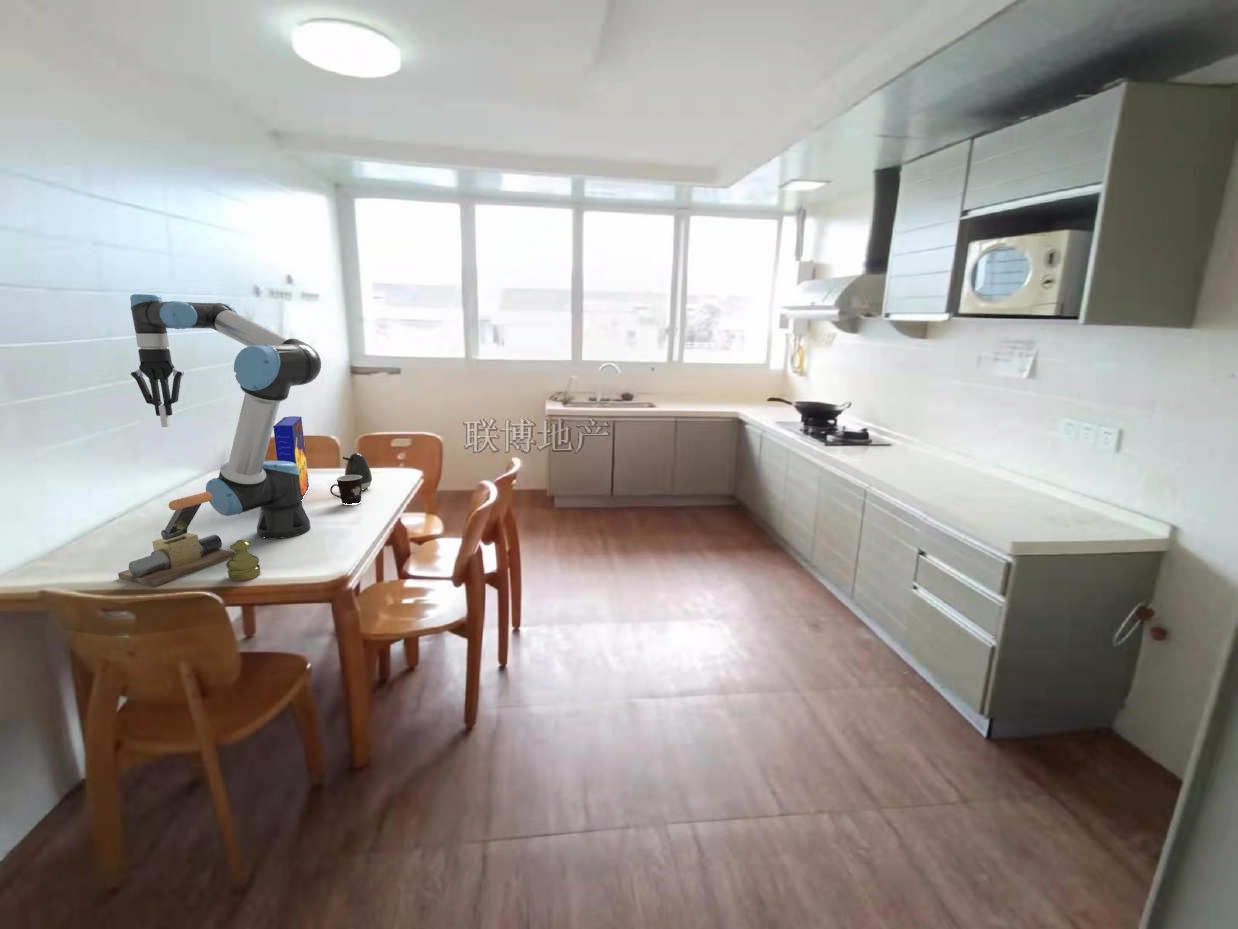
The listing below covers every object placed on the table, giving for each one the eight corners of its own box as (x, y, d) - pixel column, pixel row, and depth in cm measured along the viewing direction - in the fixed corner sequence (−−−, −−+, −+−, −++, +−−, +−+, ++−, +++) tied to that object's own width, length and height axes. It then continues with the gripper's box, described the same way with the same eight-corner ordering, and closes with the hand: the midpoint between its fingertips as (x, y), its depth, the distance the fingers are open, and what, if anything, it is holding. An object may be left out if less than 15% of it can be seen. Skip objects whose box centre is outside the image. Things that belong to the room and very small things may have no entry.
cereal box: (300, 504, 222) (291, 424, 216) (282, 506, 220) (273, 425, 214) (309, 489, 242) (301, 415, 236) (292, 490, 240) (284, 416, 234)
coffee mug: (361, 498, 231) (359, 473, 228) (366, 504, 224) (364, 478, 221) (328, 503, 225) (326, 477, 222) (332, 509, 218) (329, 482, 215)
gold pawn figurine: (266, 570, 164) (262, 536, 162) (251, 582, 157) (246, 546, 155) (238, 570, 164) (234, 536, 162) (222, 582, 157) (217, 545, 154)
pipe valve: (119, 578, 158) (113, 548, 156) (201, 549, 178) (196, 522, 176) (155, 587, 153) (149, 555, 151) (235, 556, 173) (231, 528, 171)
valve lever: (146, 538, 158) (168, 499, 152) (185, 526, 168) (207, 489, 161) (153, 546, 158) (174, 507, 152) (192, 533, 168) (214, 496, 161)
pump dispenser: (341, 489, 244) (338, 452, 240) (367, 484, 250) (364, 449, 247) (350, 494, 236) (346, 456, 233) (376, 490, 243) (373, 453, 240)
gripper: (183, 347, 184) (195, 423, 190) (132, 347, 180) (145, 425, 185) (175, 348, 177) (187, 427, 183) (121, 348, 173) (135, 429, 178)
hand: (166, 426), depth 184 cm, fingers closed
